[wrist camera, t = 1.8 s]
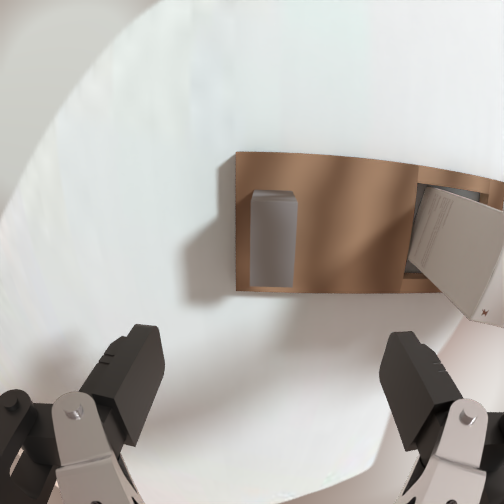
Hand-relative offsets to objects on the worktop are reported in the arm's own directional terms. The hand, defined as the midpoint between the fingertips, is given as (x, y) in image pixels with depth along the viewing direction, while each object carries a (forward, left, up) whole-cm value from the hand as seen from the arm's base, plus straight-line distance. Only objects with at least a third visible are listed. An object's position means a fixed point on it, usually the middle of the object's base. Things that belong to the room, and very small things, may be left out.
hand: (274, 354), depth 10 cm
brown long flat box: (-11, 0, -18) cm, 21 cm away
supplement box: (-17, 0, -18) cm, 25 cm away
